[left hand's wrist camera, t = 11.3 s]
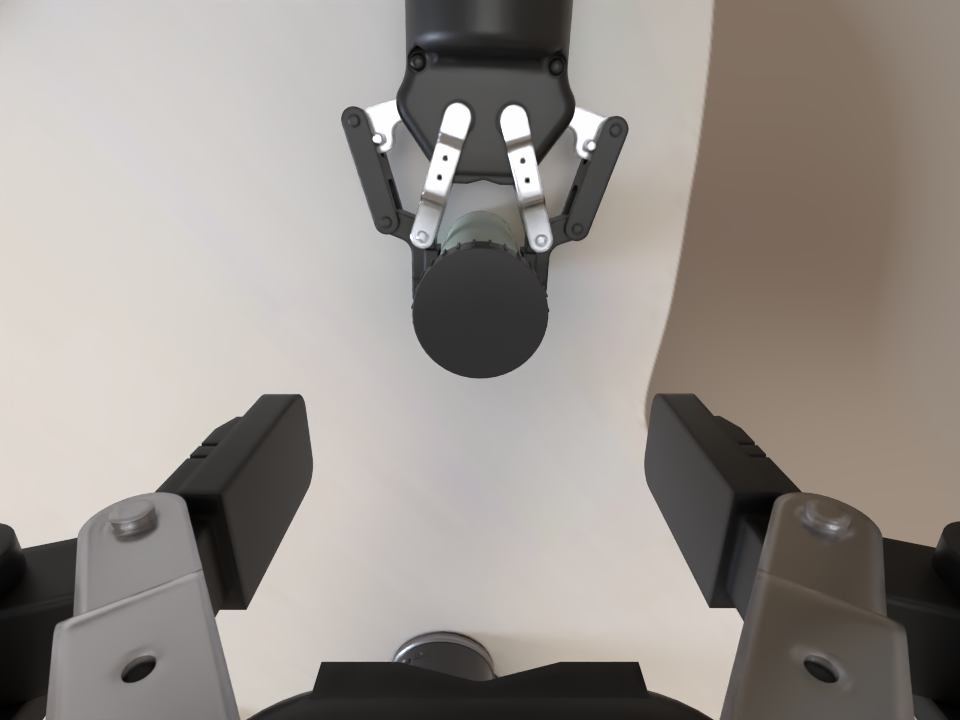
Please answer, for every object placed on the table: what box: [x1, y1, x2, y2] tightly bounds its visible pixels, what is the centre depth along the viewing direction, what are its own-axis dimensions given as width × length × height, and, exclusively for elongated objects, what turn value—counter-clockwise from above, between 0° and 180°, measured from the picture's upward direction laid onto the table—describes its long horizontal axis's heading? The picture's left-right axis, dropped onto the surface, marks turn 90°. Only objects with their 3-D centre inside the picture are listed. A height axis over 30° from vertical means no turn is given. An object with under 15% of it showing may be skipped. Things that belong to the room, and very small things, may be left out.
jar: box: [440, 211, 519, 255], centre depth 27 cm, size 4×4×15 cm
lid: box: [411, 239, 549, 378], centre depth 20 cm, size 5×5×2 cm
